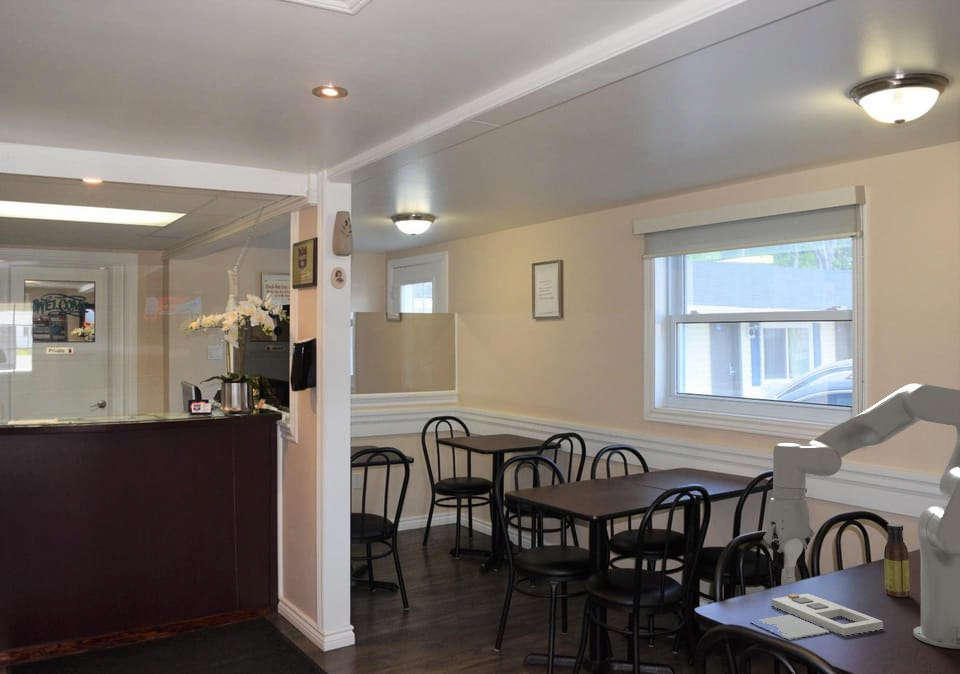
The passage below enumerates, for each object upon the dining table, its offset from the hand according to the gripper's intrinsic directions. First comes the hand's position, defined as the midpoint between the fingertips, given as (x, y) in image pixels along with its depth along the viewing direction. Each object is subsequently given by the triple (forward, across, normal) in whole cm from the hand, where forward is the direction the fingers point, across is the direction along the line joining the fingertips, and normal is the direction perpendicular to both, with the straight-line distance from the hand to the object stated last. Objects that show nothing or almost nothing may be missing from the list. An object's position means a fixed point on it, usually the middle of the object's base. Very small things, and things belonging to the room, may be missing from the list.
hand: (788, 565), depth 196 cm
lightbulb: (+3, 0, 0) cm, 3 cm away
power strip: (+15, -15, -2) cm, 21 cm away
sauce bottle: (+16, -49, -9) cm, 52 cm away
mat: (+15, 0, 0) cm, 15 cm away
